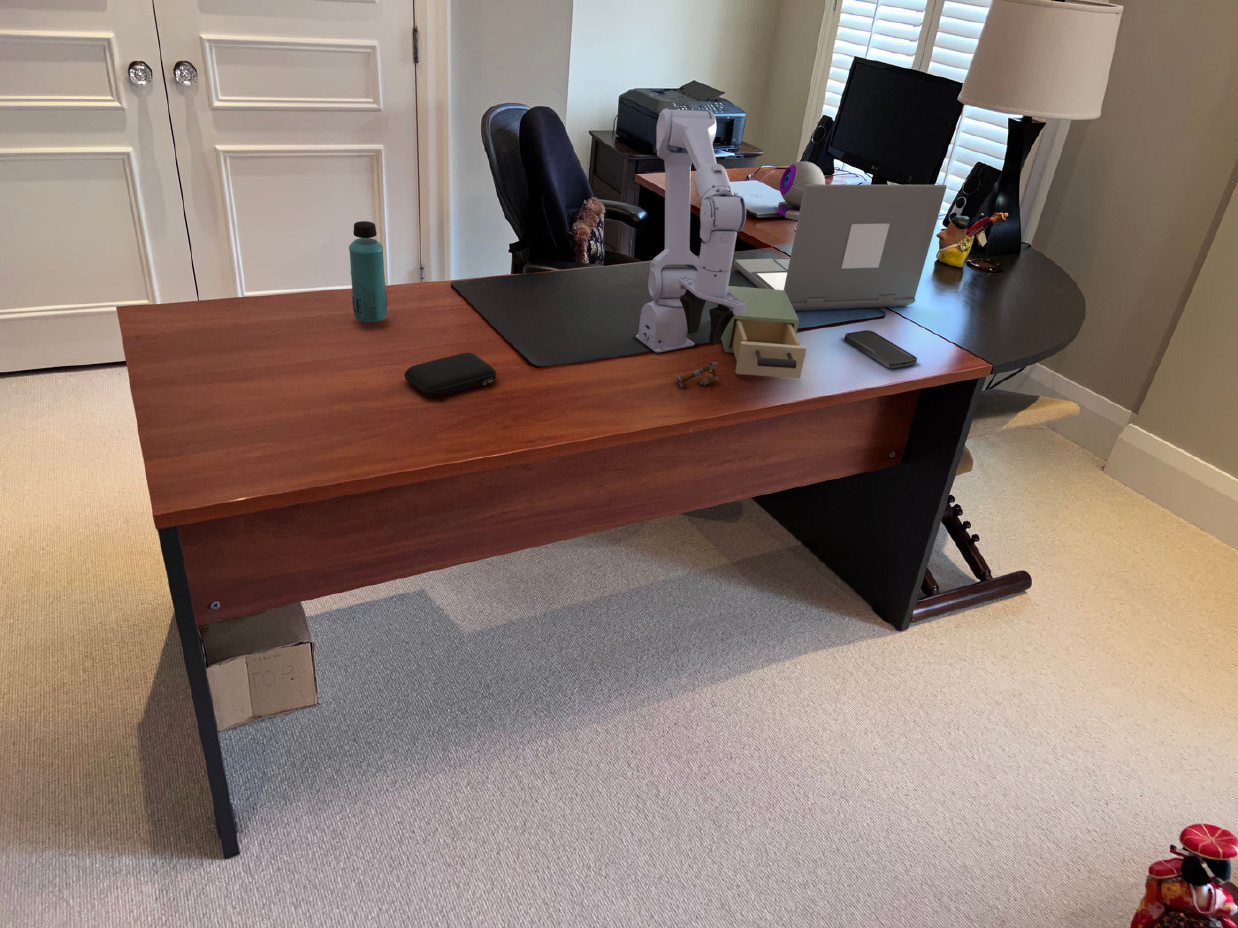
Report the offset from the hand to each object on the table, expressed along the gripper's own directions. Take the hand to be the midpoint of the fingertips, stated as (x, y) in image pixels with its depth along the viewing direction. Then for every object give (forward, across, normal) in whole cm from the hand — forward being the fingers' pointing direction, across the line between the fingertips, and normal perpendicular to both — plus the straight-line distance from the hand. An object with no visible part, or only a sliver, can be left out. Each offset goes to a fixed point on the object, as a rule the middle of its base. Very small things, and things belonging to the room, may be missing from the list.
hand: (703, 338), depth 164 cm
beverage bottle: (+10, +54, +36) cm, 66 cm away
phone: (+9, -12, -44) cm, 47 cm away
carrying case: (+10, +25, +37) cm, 46 cm away
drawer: (+9, -3, -16) cm, 18 cm away
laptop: (+10, +16, -64) cm, 66 cm away
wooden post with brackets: (+10, 0, 0) cm, 10 cm away
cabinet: (+9, +7, -26) cm, 28 cm away
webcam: (+10, +56, -108) cm, 122 cm away
